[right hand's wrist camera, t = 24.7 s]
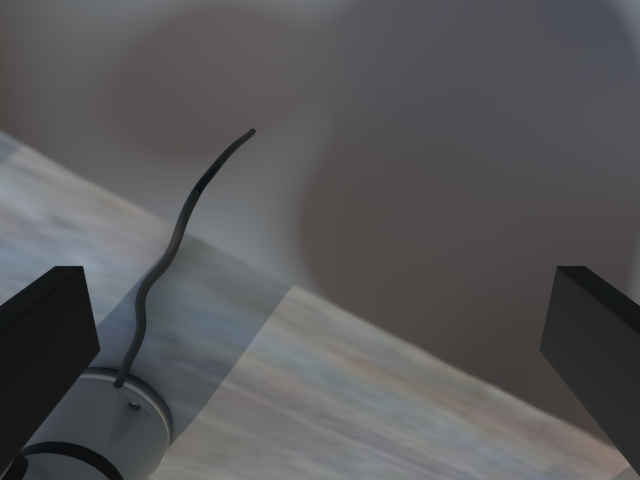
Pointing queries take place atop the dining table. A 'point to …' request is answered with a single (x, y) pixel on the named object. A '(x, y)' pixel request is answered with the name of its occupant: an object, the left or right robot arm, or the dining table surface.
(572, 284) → the right robot arm
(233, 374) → the dining table surface
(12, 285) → the dining table surface
